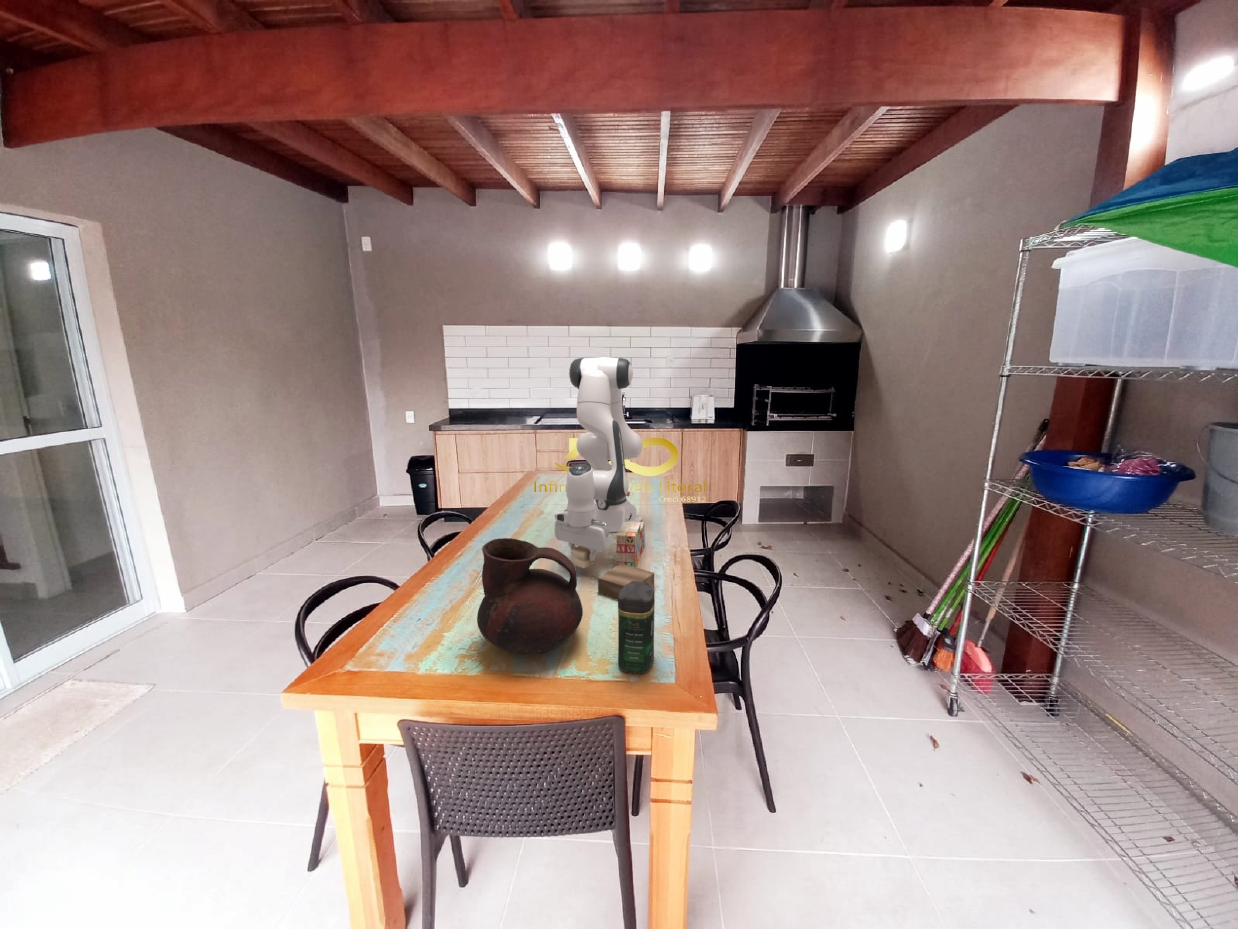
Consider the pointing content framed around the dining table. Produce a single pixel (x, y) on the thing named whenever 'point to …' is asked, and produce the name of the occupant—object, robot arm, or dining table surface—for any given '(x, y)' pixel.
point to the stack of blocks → (630, 543)
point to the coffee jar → (636, 627)
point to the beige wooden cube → (581, 556)
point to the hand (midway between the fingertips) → (582, 557)
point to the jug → (526, 598)
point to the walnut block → (622, 579)
